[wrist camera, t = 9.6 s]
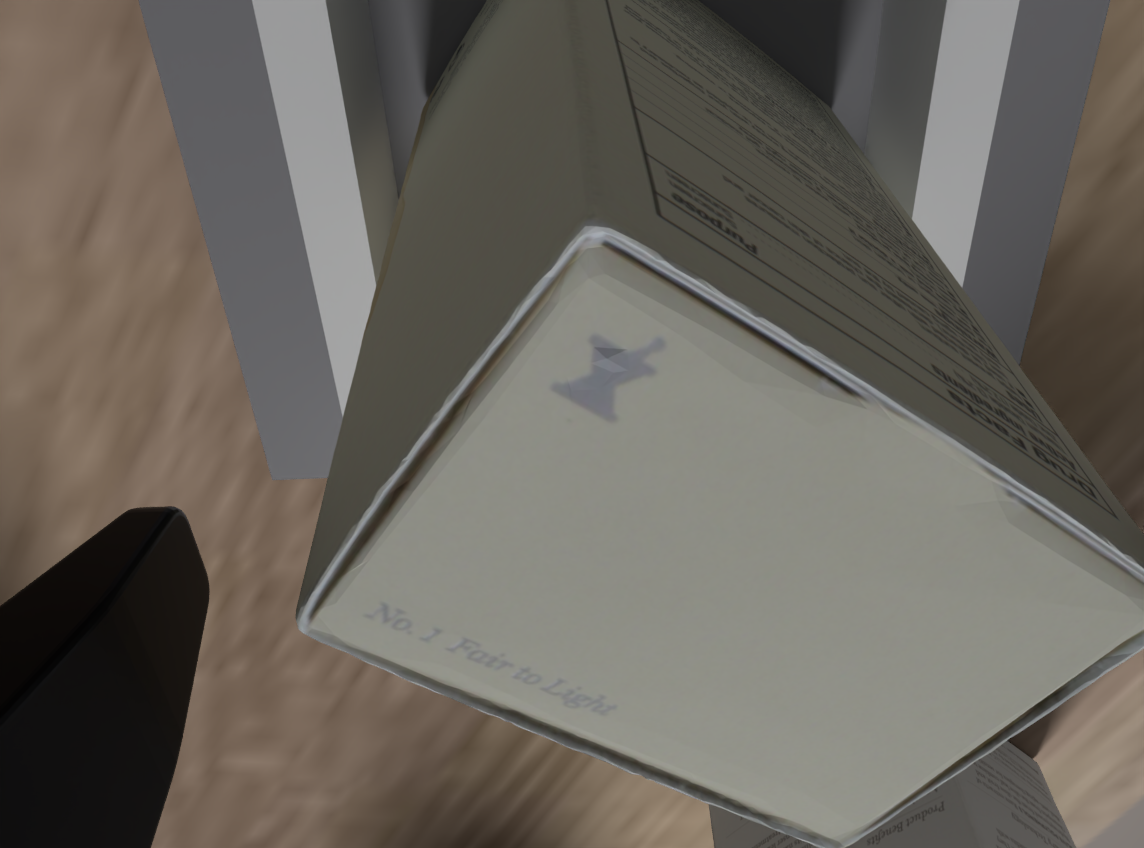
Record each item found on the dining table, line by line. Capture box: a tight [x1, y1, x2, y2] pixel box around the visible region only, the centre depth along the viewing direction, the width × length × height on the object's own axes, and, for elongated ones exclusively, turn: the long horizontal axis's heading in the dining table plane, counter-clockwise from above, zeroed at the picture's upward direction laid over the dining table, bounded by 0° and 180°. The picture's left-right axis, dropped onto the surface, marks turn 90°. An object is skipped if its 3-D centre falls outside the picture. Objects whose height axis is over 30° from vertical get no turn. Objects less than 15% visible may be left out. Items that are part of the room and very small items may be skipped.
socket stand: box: [139, 0, 1110, 480], centre depth 17 cm, size 16×16×4 cm
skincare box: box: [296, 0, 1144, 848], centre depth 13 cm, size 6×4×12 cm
